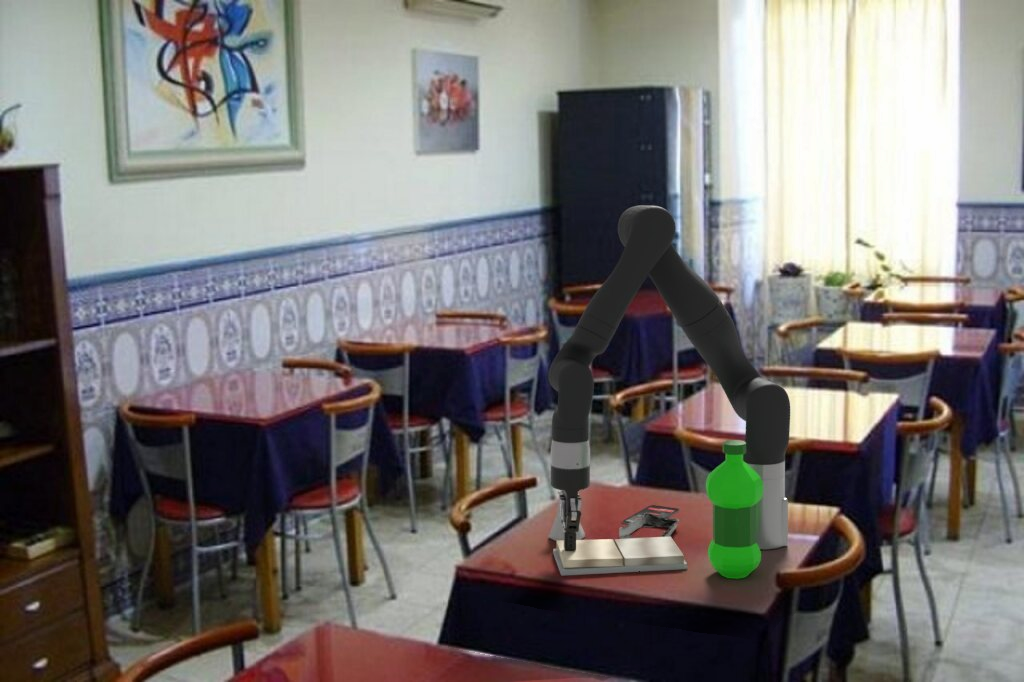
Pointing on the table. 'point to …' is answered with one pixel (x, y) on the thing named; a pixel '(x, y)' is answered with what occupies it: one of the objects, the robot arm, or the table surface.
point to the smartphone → (653, 509)
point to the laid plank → (649, 551)
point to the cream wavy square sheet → (590, 554)
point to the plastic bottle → (734, 513)
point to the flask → (557, 528)
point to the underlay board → (614, 568)
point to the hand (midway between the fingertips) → (569, 550)
